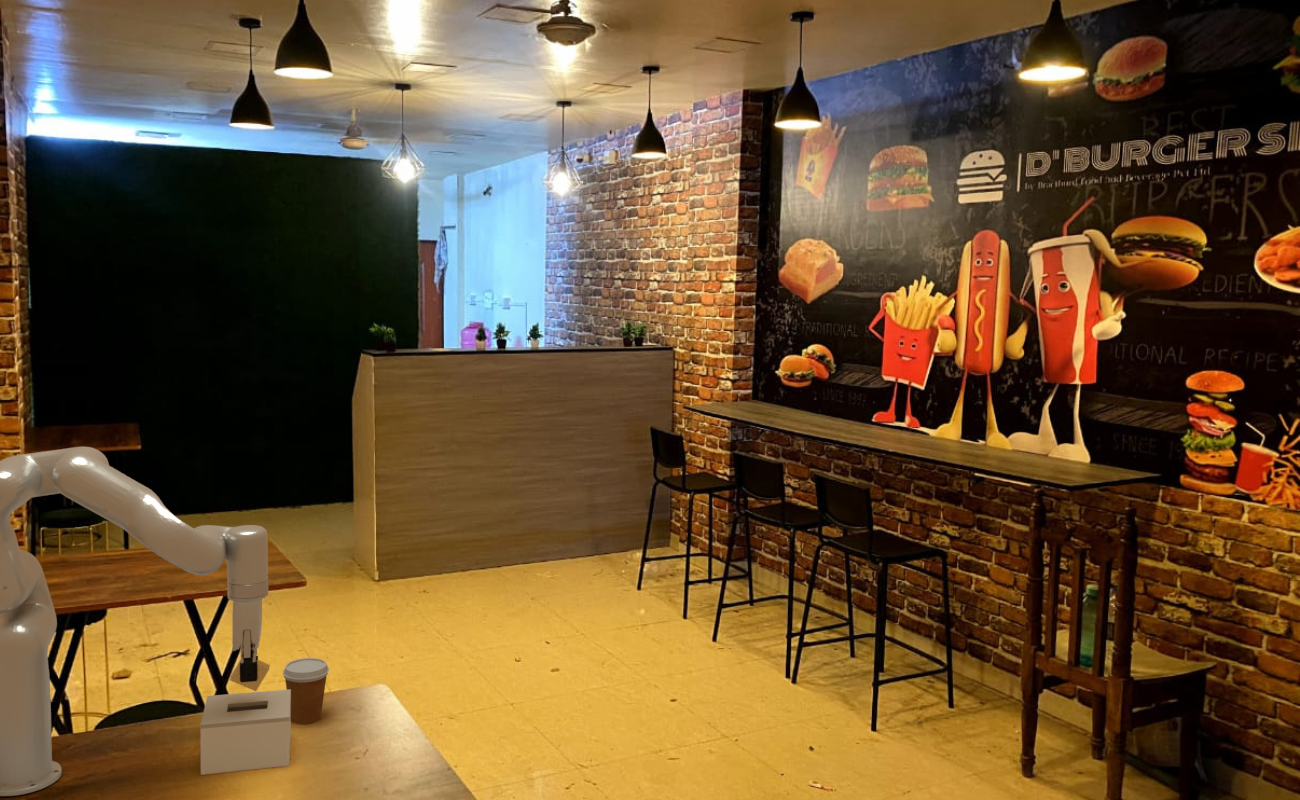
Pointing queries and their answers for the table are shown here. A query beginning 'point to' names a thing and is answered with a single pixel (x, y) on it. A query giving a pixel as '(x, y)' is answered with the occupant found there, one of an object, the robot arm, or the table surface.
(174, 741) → the table surface
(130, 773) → the table surface
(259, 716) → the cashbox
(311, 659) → the disposable coffee cup
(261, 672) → the wooden block
